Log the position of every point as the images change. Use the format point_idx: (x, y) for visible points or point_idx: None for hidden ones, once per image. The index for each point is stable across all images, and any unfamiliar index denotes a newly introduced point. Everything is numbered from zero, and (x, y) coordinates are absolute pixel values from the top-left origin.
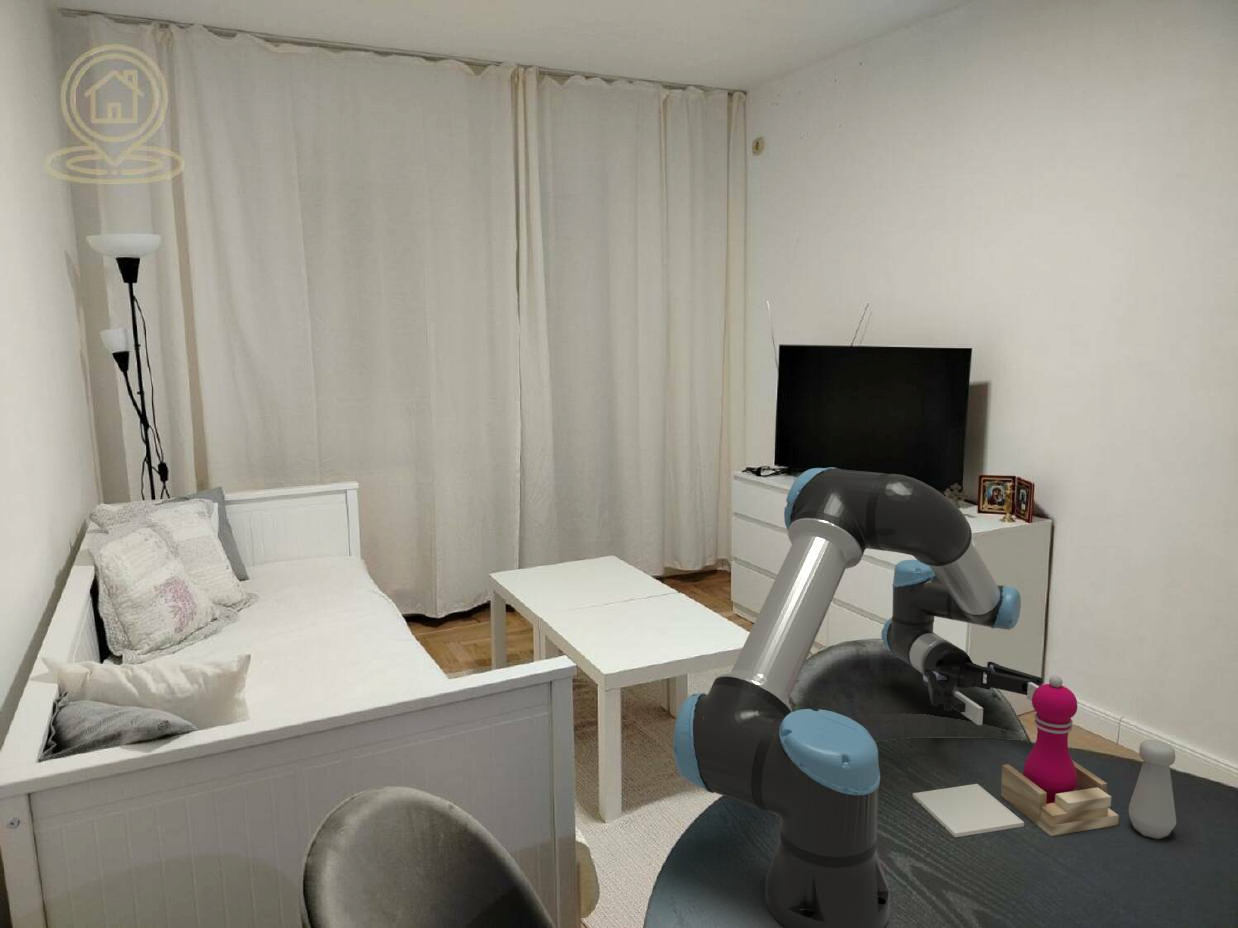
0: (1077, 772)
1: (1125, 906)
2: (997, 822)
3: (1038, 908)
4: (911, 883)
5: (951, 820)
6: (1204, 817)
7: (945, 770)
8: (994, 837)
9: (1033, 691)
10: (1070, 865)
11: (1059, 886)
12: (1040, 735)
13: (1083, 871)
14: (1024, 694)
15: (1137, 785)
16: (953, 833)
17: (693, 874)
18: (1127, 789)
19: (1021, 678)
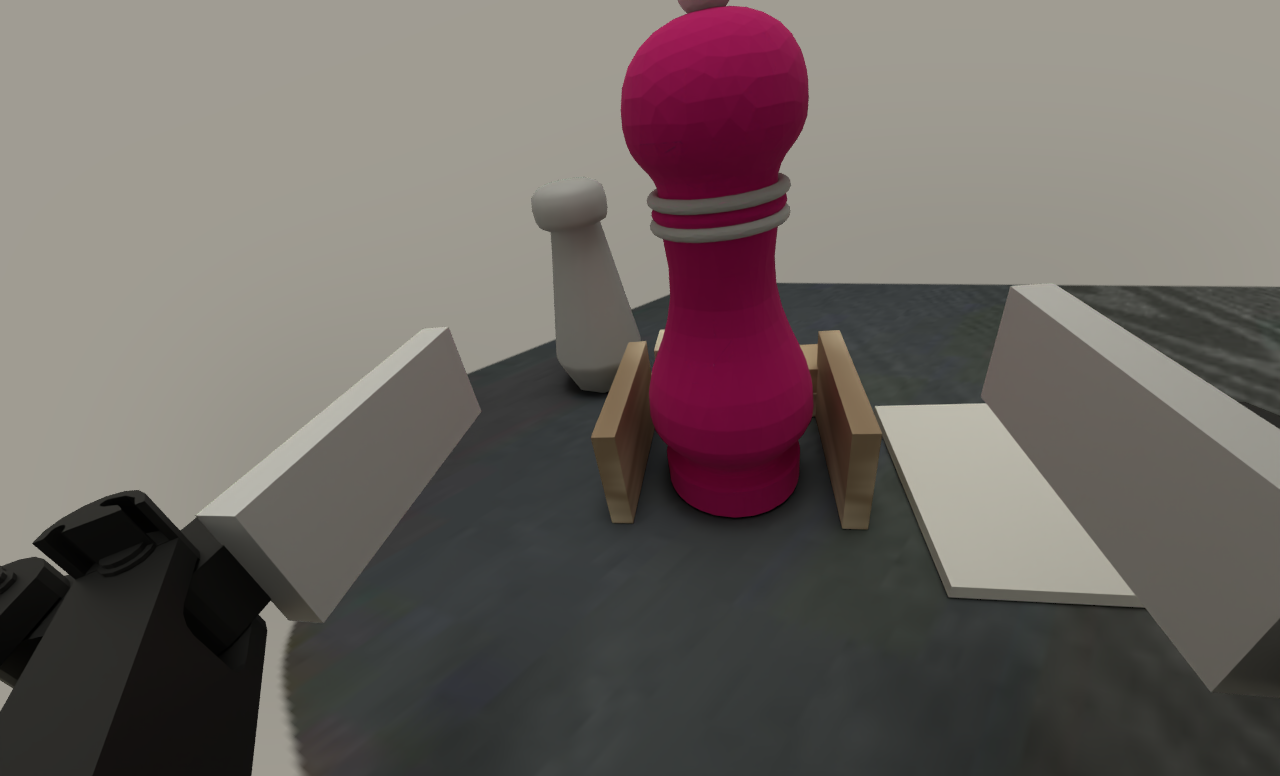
0: (633, 398)
1: (815, 292)
2: (957, 414)
3: (962, 293)
4: (1259, 329)
5: None
6: (474, 388)
7: None
8: (981, 399)
9: (331, 493)
10: (842, 337)
11: (897, 313)
12: (774, 251)
13: (828, 329)
14: (262, 672)
15: (613, 291)
16: None
17: None
18: (476, 474)
19: (68, 660)
